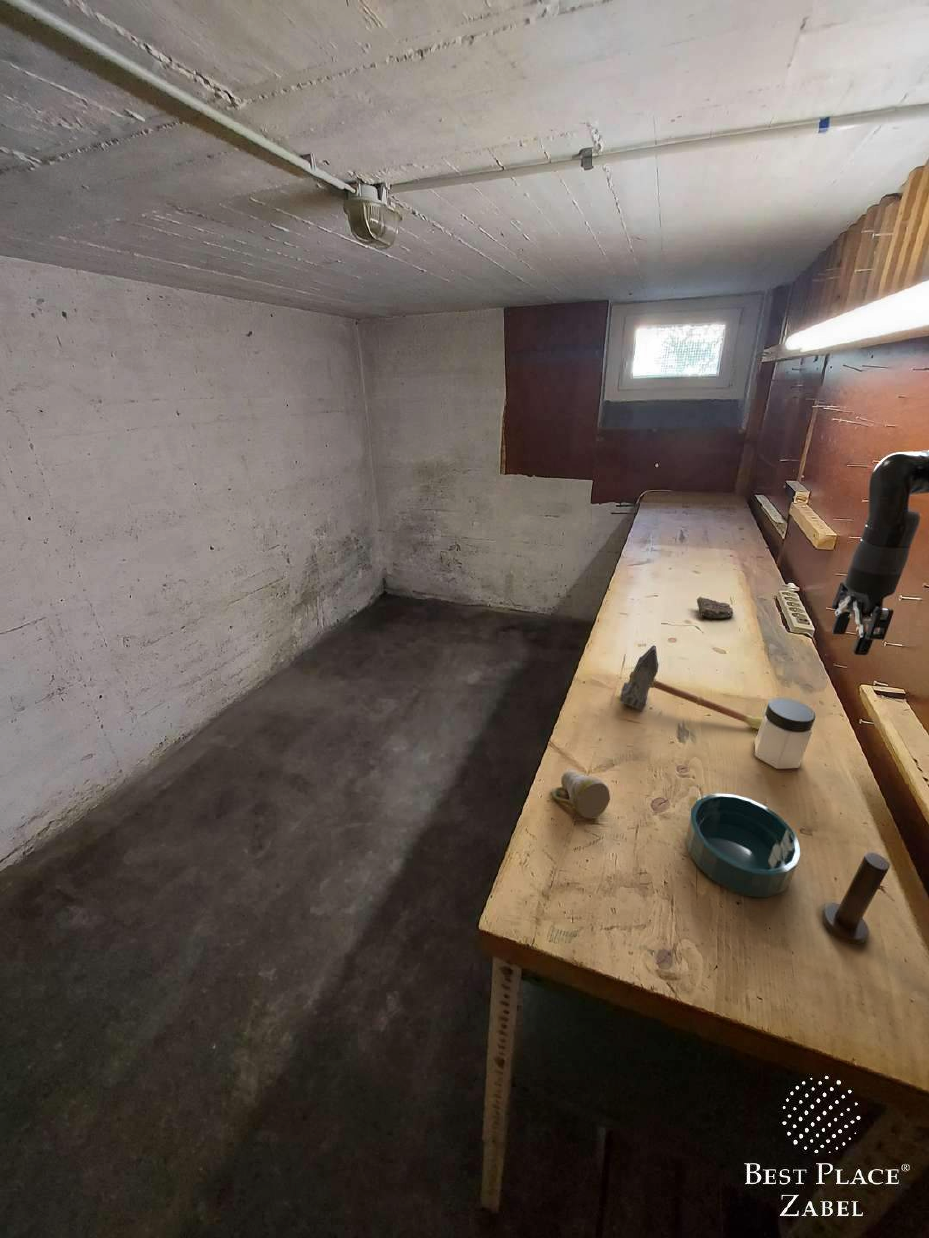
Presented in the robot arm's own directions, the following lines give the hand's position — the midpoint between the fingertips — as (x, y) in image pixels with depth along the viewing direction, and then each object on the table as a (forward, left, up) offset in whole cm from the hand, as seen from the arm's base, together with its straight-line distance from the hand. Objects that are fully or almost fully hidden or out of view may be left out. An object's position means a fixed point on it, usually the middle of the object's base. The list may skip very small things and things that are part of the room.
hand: (848, 643), depth 95 cm
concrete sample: (-36, -52, -24) cm, 68 cm away
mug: (+56, -12, -24) cm, 62 cm away
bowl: (+41, +10, -24) cm, 49 cm away
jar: (+12, -1, -24) cm, 27 cm away
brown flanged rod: (+38, +25, -24) cm, 52 cm away
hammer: (+16, -20, -24) cm, 35 cm away
